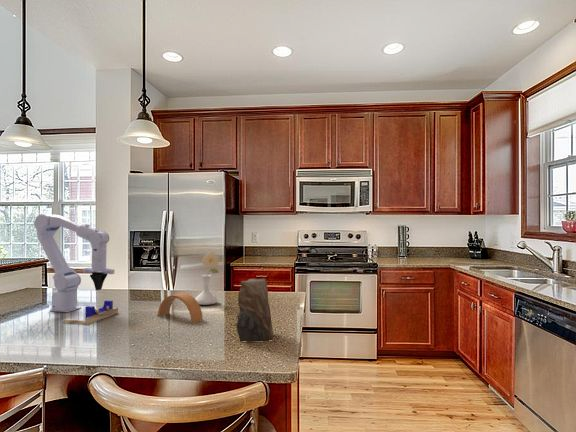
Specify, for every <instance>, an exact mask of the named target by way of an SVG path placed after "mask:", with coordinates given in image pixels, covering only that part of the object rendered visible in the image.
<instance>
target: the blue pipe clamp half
mask: <svg viewBox="0 0 576 432" xmlns="http://www.w3.org/2000/svg"><path fill="white" fill-rule="evenodd" d="M113 305H114V302H113V300H107V299H106V300H104V301H103V306H102V307H100V308H98V309H99V310H98V314H99V313H101V312H104V311H107V306H109V310H110V309H113V308H114V307H113ZM84 308H85V309H84V310H85V313H84V315H85V316H84V319H85V318H87V317H90V316H93V315H96V311H95V309H96V306H93V305H87V306H85V307H84Z"/></svg>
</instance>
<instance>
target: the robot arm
mask: <svg viewBox="0 0 576 432" xmlns="http://www.w3.org/2000/svg"><path fill="white" fill-rule="evenodd" d="M33 226H34V227H35V229H36V235H37V236H36V237H37V240H38V242H39V244H40V246H41V247H42V249H43V251H44V253H45V255H46V257H47V260H48V261H49V263H50V265H51V267H52V268H53V271H54V274H53V275H52V279H53V284H54V287H55V289H56V290H54V291H53V292H52V296H51V309H50V310H49V311H50V312H60V313H70V312H73V311H76V310H80V309H82V306H78V288H79V286H80V285H81V282H82V278H81V276H80V274H78V273H77V272H76V270H75V269H74V268H72V267H70V266H69V264H68V262H67V260H66V258H65V257H64V255H63V253H62V251H61V249H60V247H59V246H58V244H57V242H56V240H55V238H54V235H55V234H56V233H57V232H58V231H59V229H60V228H61V227H62V228H64V229H67V230H69V231H72V232H75V235H76V236H77V237H79V238H82V239H84V240H85V241H88V242H89V243H90V245H91V267H86V268H85V267H84V268H83V274H90V275H89V277H90V278H91V280H92V283H93V285H94V288H95V291H101V290H102V288H103V285H104V282H105V280H106V278H107V276H108V275H114V274H115V269H112V268H107V246H108V245H107V243H109V241H110V235H109V234H108V232H106V231H105V230H104V231H103V230H102V231H99V229H98V228H93V227H91V226H90V224H85V223H84V224H81V225H80V224H78V223H76V222H74V221H73V220H70V219H68V218H66V217H64V216H63V215H60V214H58V213H57V214H44V213H40V214H38V215H37V216H36V217H35V219H34V222H33Z"/></svg>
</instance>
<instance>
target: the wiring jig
mask: <svg viewBox="0 0 576 432" xmlns="http://www.w3.org/2000/svg"><path fill="white" fill-rule="evenodd" d="M98 310H99V308H95V311H96V315H93V316H90V317H87V318H85V317H84V319H85V320H84V319H83V320H82V319H69V318H63V321H62V322H64V323H66V324H74V325H75V324H76V325H90V324H92V323H95V322H98V321H101V320H103V319H105V318H106V319H107V318H109V317H111V316H114V315H116V314H119V307H113V309H110V310H109V306H107V311H104V312H101V313H99V314H98Z"/></svg>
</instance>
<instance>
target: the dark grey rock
mask: <svg viewBox="0 0 576 432" xmlns="http://www.w3.org/2000/svg"><path fill="white" fill-rule="evenodd" d="M240 285H241V286H240V288H239V291H238V297H237V303H238V304H237V305H238V308H239V312H238V314H237V315H236V318H237V320H236V321H237V322H236V329H237V335H238V337H239V342H240V341H269V340H273V341H274V330H273V324H272V323H273V322H272V316H271V315H272V314H271V309H270V303H269V289H268V283H267V279H266V278H265V277H263V278H255V277H254V278H249V279H248V280H241V281H240Z"/></svg>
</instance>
